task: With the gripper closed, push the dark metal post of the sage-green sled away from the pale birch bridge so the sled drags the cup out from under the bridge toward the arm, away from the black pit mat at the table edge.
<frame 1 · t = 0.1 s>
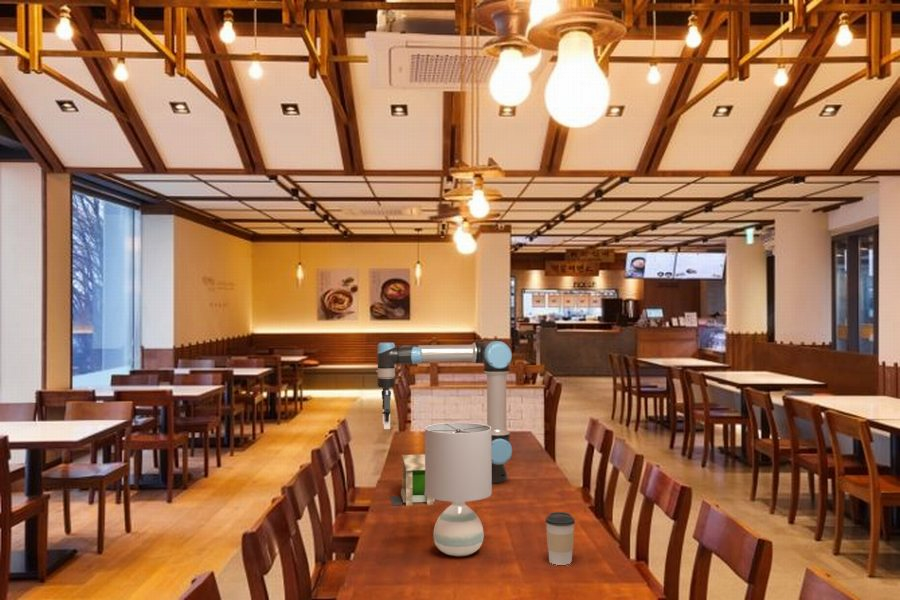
hand: (386, 426, 319), 28 cm above the table, fingers open, 13 cm apart
sled: (439, 487, 306), point 4 cm above the table, slide at 0.0 cm
coffee cup: (560, 562, 227), on the table
pit mat: (396, 500, 301), on the table
lamp: (458, 552, 237), on the table
cup: (417, 499, 304), resting in sled
bridge: (417, 498, 304), on the table
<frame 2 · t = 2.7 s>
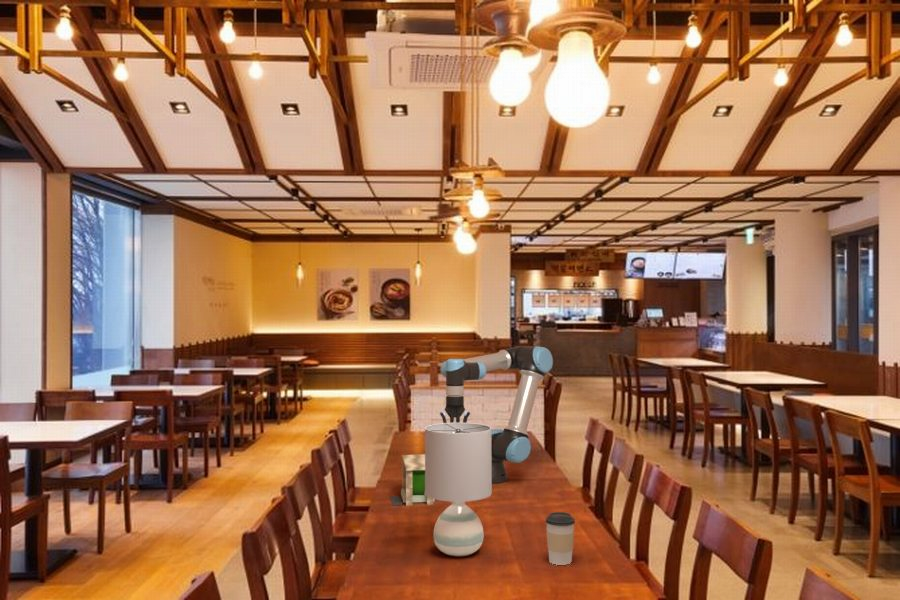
hand: (454, 451, 307), 19 cm above the table, fingers closed
nothing on the table moved.
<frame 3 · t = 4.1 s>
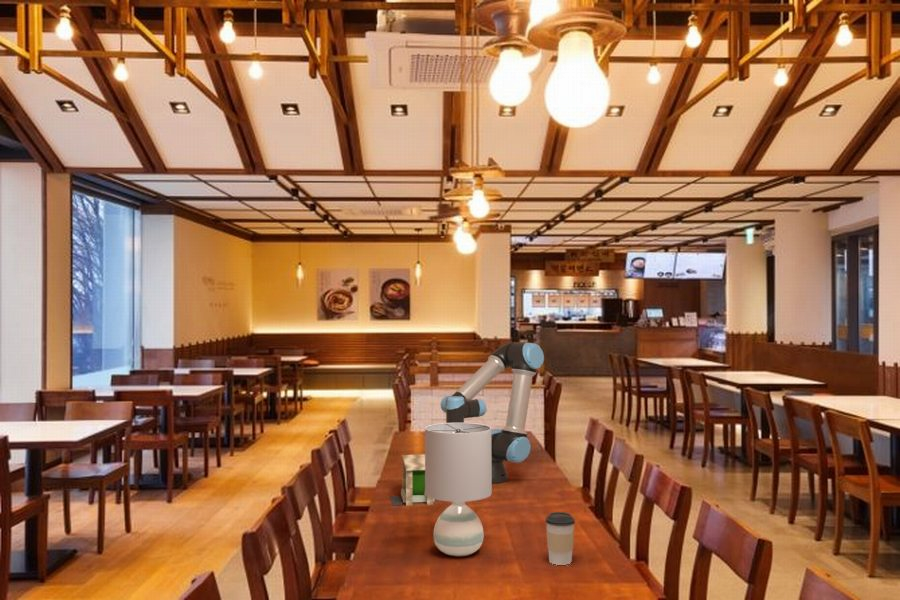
hand: (455, 489, 307), 3 cm above the table, fingers closed
nothing on the table moved.
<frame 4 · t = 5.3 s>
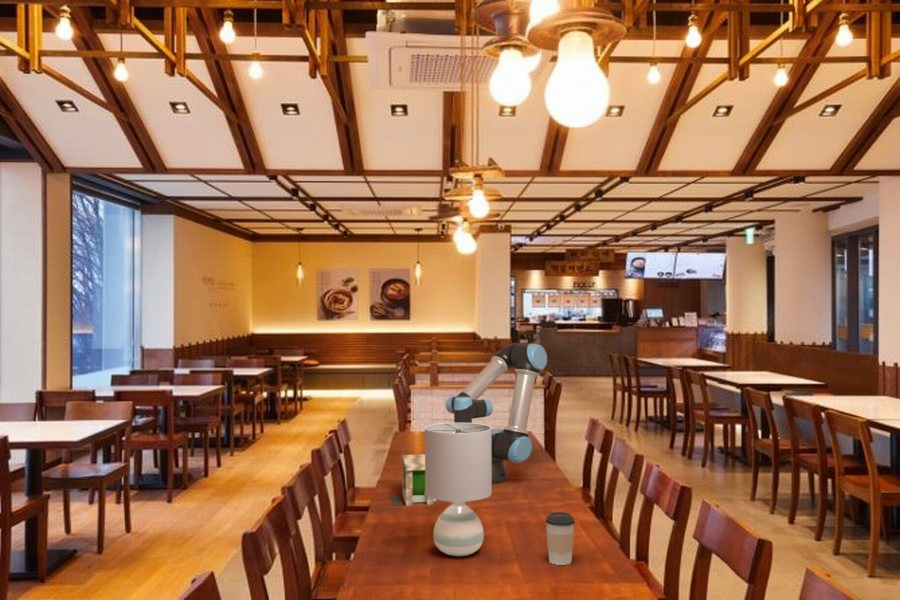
hand: (463, 490, 307), 3 cm above the table, fingers closed
sled: (440, 487, 306), point 4 cm above the table, slide at 0.7 cm, touching cup, gripper
cup: (417, 499, 304), resting in sled
everything else where it was.
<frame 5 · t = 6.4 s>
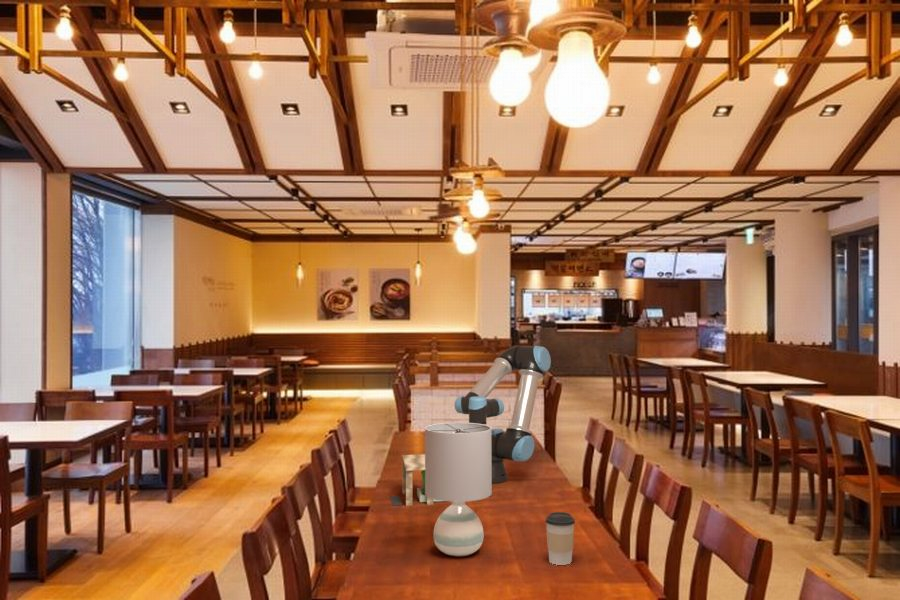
hand: (477, 489, 308), 3 cm above the table, fingers closed
sled: (455, 486, 307), point 4 cm above the table, slide at 6.8 cm, touching cup, gripper
cup: (432, 498, 305), resting in sled
everything else where it was.
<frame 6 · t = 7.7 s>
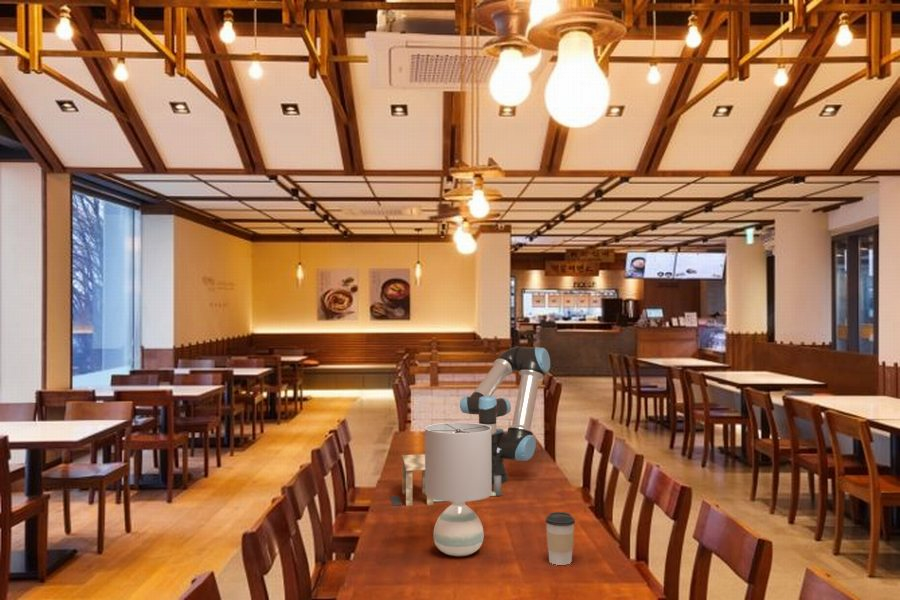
hand: (487, 488, 309), 3 cm above the table, fingers closed
sled: (465, 486, 307), point 4 cm above the table, slide at 11.1 cm, touching cup, gripper
cup: (442, 498, 306), resting in sled
everything else where it was.
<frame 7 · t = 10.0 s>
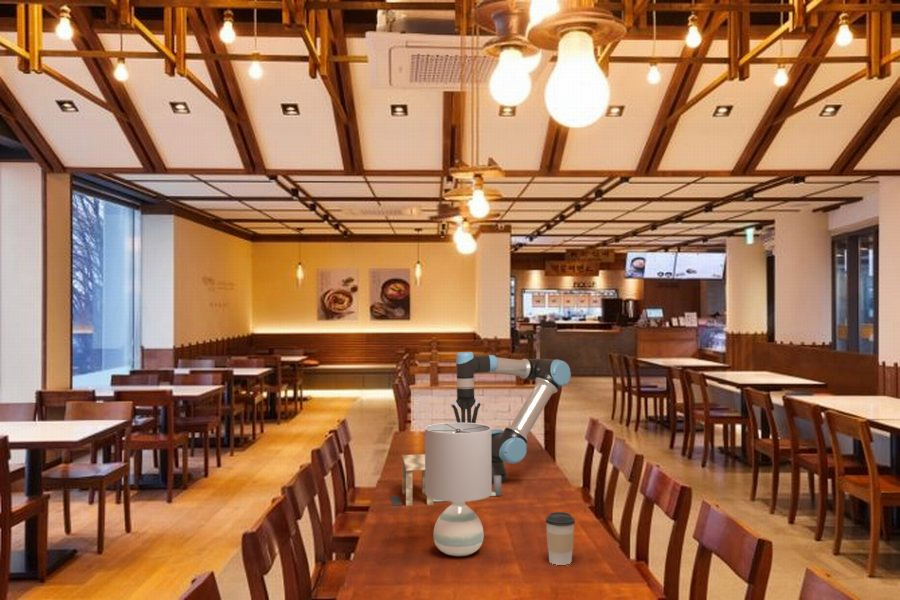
hand: (466, 442, 316), 21 cm above the table, fingers closed
sled: (465, 486, 307), point 4 cm above the table, slide at 11.1 cm
cup: (442, 498, 306), resting in sled
everything else where it was.
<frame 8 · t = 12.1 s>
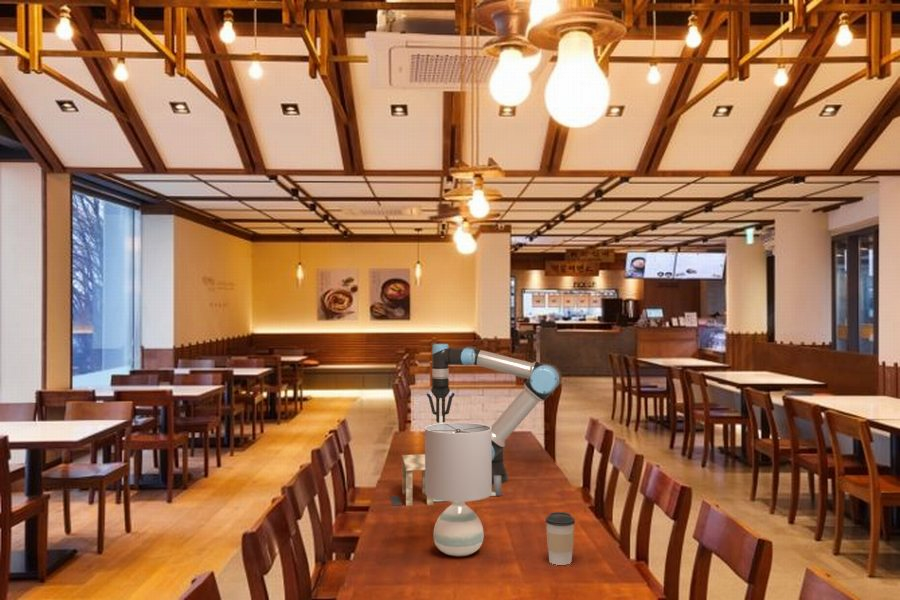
hand: (440, 429, 331), 24 cm above the table, fingers closed
nothing on the table moved.
at the end: sled slide at 11.1 cm; cup inside the target area (3.1 cm from its centre), resting in sled; cup tilted 0° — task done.
